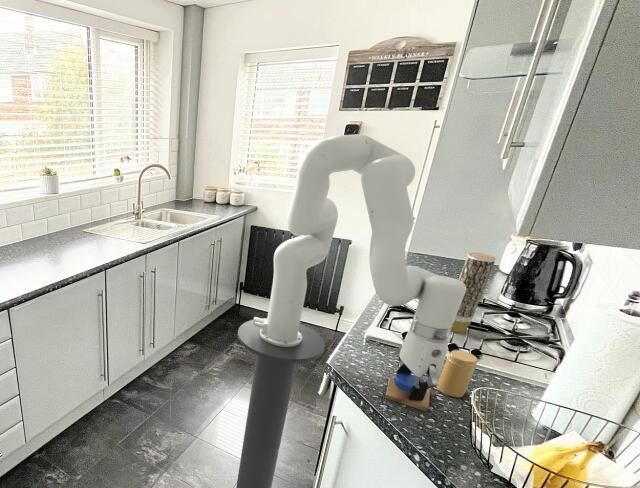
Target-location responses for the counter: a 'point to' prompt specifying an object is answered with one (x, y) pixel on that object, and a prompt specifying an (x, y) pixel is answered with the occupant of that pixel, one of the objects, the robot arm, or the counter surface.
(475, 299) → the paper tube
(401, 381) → the jar lid
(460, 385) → the jar
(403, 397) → the block
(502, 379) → the counter surface
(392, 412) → the counter surface
